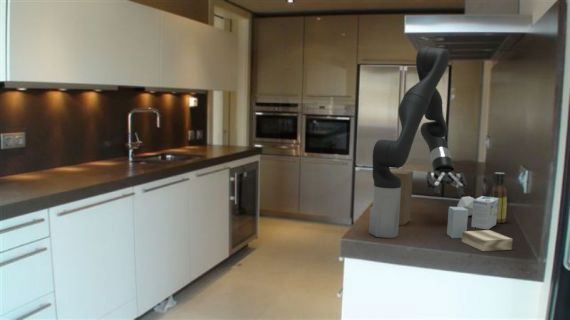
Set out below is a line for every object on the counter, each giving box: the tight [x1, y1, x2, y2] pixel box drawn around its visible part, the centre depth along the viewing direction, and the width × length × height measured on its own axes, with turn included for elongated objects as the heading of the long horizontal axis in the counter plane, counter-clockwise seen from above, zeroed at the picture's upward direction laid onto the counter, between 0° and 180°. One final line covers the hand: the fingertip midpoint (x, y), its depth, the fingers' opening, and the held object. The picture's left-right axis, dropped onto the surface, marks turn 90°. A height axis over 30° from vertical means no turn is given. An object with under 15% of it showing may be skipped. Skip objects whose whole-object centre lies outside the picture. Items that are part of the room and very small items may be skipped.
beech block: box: [461, 229, 514, 252], centre depth 163 cm, size 11×11×4 cm
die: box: [456, 195, 476, 217], centre depth 207 cm, size 8×9×10 cm
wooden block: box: [389, 168, 414, 227], centre depth 191 cm, size 10×10×20 cm
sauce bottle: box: [489, 171, 508, 224], centre depth 196 cm, size 7×6×20 cm
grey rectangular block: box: [446, 206, 469, 239], centre depth 173 cm, size 5×5×10 cm
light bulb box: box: [470, 195, 498, 230], centre depth 189 cm, size 11×7×11 cm, turn 142°
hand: (450, 196), depth 181 cm, fingers open, 8 cm apart
